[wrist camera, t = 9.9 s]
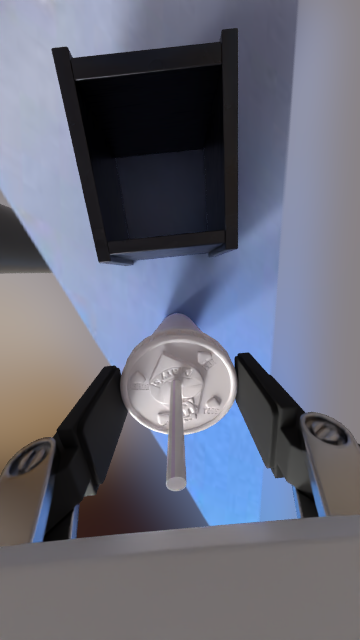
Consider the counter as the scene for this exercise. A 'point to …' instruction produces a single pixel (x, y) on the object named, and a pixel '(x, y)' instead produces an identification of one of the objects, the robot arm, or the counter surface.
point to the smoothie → (178, 386)
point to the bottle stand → (154, 136)
